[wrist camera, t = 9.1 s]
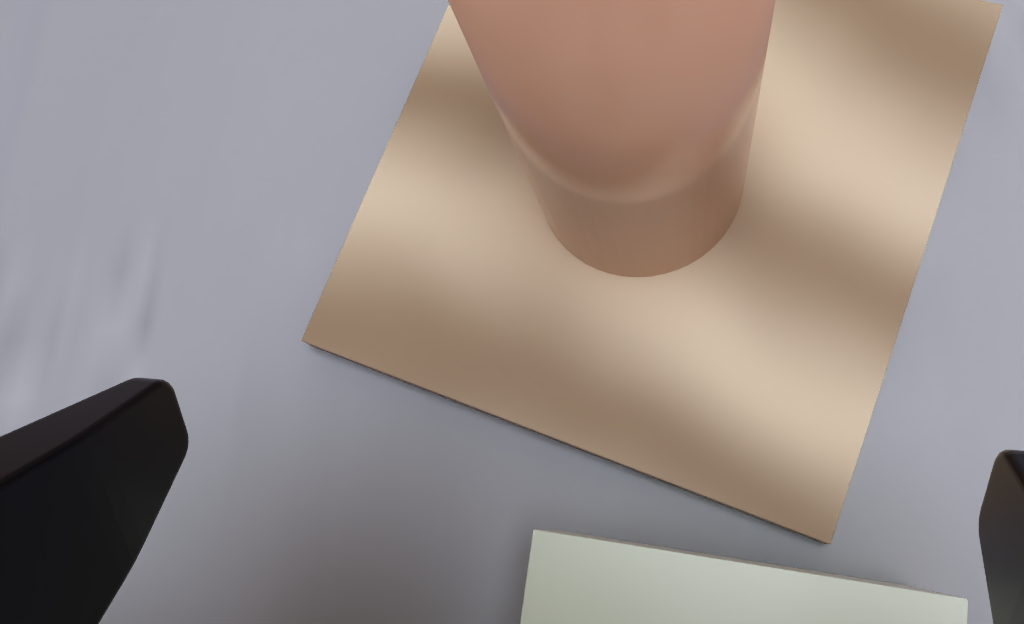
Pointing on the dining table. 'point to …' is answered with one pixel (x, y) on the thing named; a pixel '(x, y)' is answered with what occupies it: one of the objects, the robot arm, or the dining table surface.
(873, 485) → the dining table surface
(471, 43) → the tan tapered rounded cylinder
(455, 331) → the plate
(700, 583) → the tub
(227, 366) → the dining table surface
